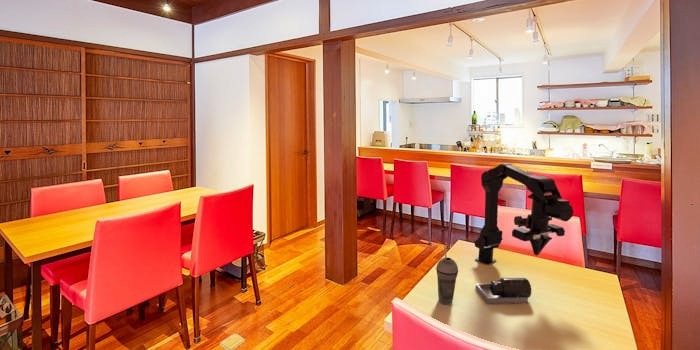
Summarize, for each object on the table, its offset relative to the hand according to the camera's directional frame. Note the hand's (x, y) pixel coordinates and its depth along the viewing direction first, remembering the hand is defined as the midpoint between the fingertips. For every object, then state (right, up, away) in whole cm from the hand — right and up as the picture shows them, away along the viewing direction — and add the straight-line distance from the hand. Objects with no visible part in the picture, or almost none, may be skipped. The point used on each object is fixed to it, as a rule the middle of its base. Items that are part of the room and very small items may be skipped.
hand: (536, 254), depth 127 cm
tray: (-14, -14, -3) cm, 20 cm away
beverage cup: (-35, -15, -6) cm, 38 cm away
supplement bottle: (-6, -10, -5) cm, 13 cm away
